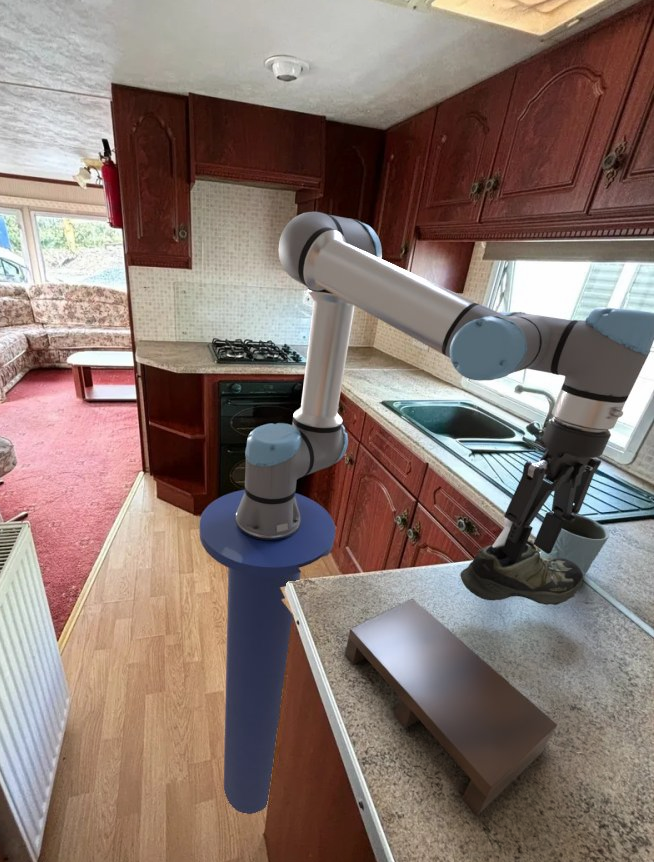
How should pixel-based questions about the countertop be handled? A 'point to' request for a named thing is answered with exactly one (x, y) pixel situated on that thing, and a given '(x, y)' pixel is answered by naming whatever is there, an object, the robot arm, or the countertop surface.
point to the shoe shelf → (453, 698)
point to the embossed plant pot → (579, 542)
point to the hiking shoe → (521, 576)
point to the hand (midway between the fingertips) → (526, 551)
